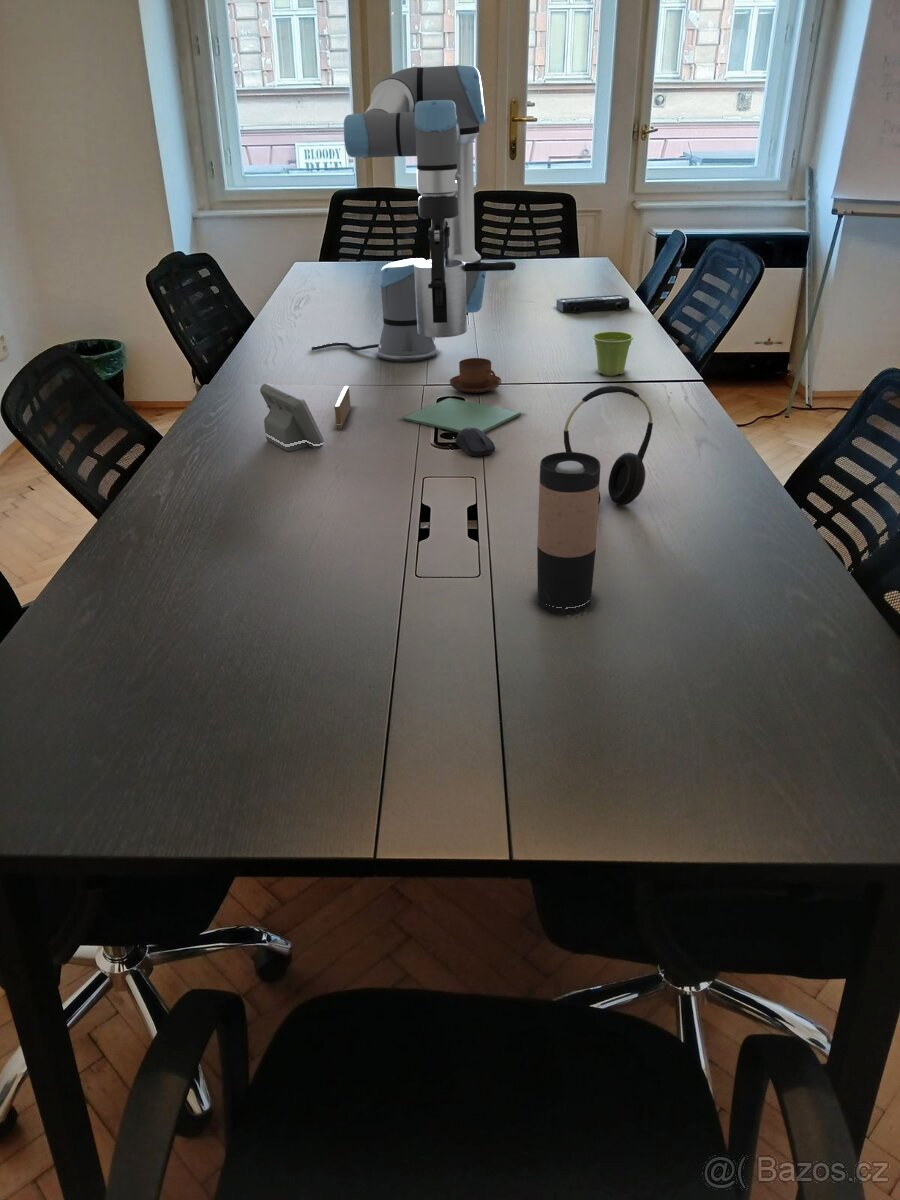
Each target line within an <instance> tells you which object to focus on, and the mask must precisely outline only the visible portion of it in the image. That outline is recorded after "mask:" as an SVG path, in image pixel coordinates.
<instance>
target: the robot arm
mask: <svg viewBox="0 0 900 1200" xmlns="http://www.w3.org/2000/svg"><path fill="white" fill-rule="evenodd" d="M485 110H486V109H485V101H484V93H483V85H482V79H481V74H480V71H479V70H478V68H477V67H475V66H473V65H459V64H456V65H442V66H441V65H439V66H438V65H437V66H419V67H418V66H413V67H407V68H403V69H400V70H398V71H395V72H393V73H391V74H390V75H388V76H386V77H385V78H383V79H381V80H380V82H378V84H376V86H375V87H374V88H373V91H372V93H371V96H370V104H369V106H368V107H367V109H366V110H365V112H364V113H361V112H357V113H354V114H352V113H351V114H347V115H346V116H345V117H344V120H343V142H344V147H345V151H346V154H347V155H348V156H349V157H351V158H361V159H364V160H365V159H367V158H368V159H369V158H396V157H416V187H417V193H418V194H420V196H419V197H418V198H417V202H418V203H417V205H418V206H417V207H418V216H419V217H420V218H421V219H424V220H431V226H429V227H428V229H427V232H428V233H427V235H428V239H429V252H430V260H431V284H428V288H432V304H433V323H447V297H446V287H445V286H446V283H445V260H446V259H454V260H461V261H464V262H465V263H479V262H482V256H481V255H480V254H479V253H478V251H476V249H475V247H476V246H475V245H476V244H475V243H476V242H475V189H474V188H475V184H474V140H475V139H476V138H477V137H478V136H479V135H480V126H482V125H485V123H486V111H485ZM421 261H426V259H425V258H423V257H419V258H418V257H416V258H407V259H402V260H397V261H394V262H390V263H388V264H386V265H384V266H383V267H382V268H381V270H380V285H379V287H380V290H381V303H382V304H381V305H382V306H381V307H382V323H383V326H382V331H381V334H380V340H379V343H376V344H369V345H363V346H354V345H352V344H351V343H349V342H345V343H338V342H331V343H332V344H330V343H326V345H325V344H321V345H322V346H320V345H316V346H317V347H315V346H311V348H310V349H311V351H315V350H321V349H325V348H330V347H338V346H344V347H348V348H350V349H351V350H353V351H363V350H369V349H376V348H378V349H377V352H378V353H377V354H378V357H379V358H380V359H381V360H385V361H388V362H398V363H399V362H400V363H408V362H418V361H425V360H428V359H431V358H433V357H435V356H436V355H437V345H436V342H435V340H436V337H426V336H422V335H420V334H418V331H417V311H416V292H415V272H414V264H415V263H417V262H421ZM486 275H487V271H470V272H466V310H467V314H471V313H478V312H479V311H481V309H482V308H483V301H484V293H485V283H486ZM436 279H442V280H436Z"/></svg>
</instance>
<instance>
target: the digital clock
mask: <svg viewBox="0 0 900 1200" xmlns="http://www.w3.org/2000/svg"><path fill="white" fill-rule="evenodd" d="M259 392H260V394H261V396H262V398H263V401H264V402H265V404H266V407H267V408H268V409H269V411H268V413H267V415H266V416H265V417H264V419H263V424H264V425H263V426H264V433H265V434H266V433H267V434H268V435H270V436H272V437H274V438H275V439H277V440H279V441H280V442H283V443H284V444H290V443H294V442H298V441H302V440H307V441H309V442H311V443H313V444H320V443H323V442H324V443H325V439H324V437H323V435H322V432H321V431H320V429H319V426H318V424H317V422H316V421H315V418H314V416H313V414H312V412H311V410H310V408H309V406H308V404H307V402H306V400H305V399H304V398H302V397H301V396H298V395H296V394H294V393H291V392H289V391H287V390H285V389H283V388H280V387H279V386H276V385H275V384H272V383H263V384H262V385H261V386H260V389H259ZM265 438H266V441H268V442H270V443H272V444H273V445H275V446H276V447H279V448H281V449H283V450H284V451H286V452H292V451H296V450H300V449H304V448H307V447H311V448H313V449H321V448H323V447H324V444H323V445H320V446H313V445H312V444H309V443H307V442H305V443H301V444H297V445H294V446H290V447H285V446H283V445H281V444H280V443H278V442H276V441H274V440H272V439H271V438H269V437H267V436H266V435H265Z"/></svg>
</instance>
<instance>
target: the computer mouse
mask: <svg viewBox="0 0 900 1200" xmlns="http://www.w3.org/2000/svg"><path fill="white" fill-rule="evenodd" d="M455 445H456V446H458V447H459V448H460V449H461V450H463V452H465V453H466V454H468V455H469V456H471V457H482V456H488V455H490V454H492V453H494V452H495V451H496V445H495V443H494V441H493V440H492V439H491V437H489V436H488V435H487V434H486V432H485V433H483V432H482V431H481V430H479V429H477V428H475V427H467V428H464V429H463V430H461V431H460V432H459V433H458V434H457V436H456V438H455Z"/></svg>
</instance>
